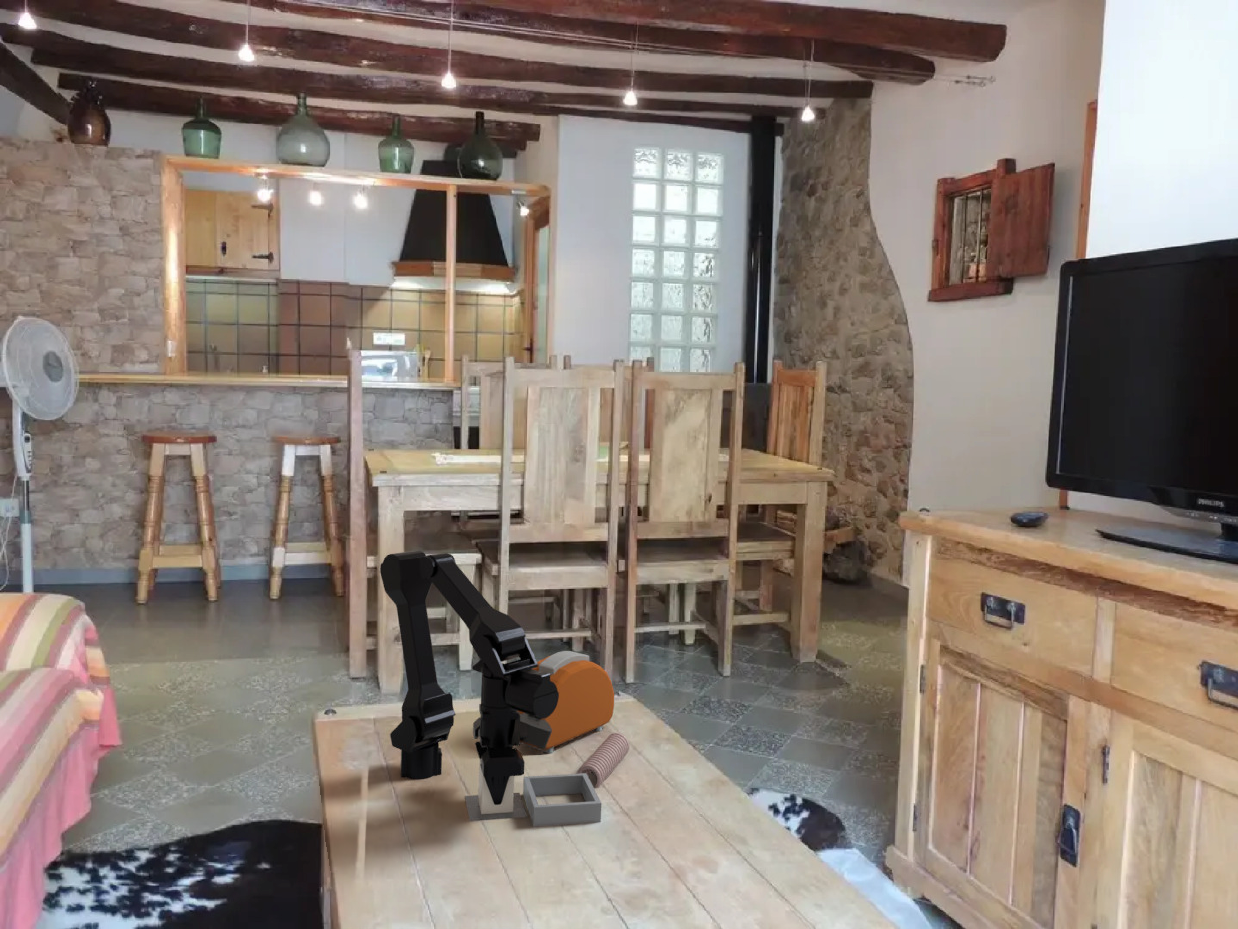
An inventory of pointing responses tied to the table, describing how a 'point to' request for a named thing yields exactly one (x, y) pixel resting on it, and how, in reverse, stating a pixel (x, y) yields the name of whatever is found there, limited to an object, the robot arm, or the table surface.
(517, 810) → the stud plate
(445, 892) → the table surface
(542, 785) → the bin
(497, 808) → the cream rectangular block
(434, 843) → the table surface
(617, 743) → the coil
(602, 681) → the orange grey rounded block
